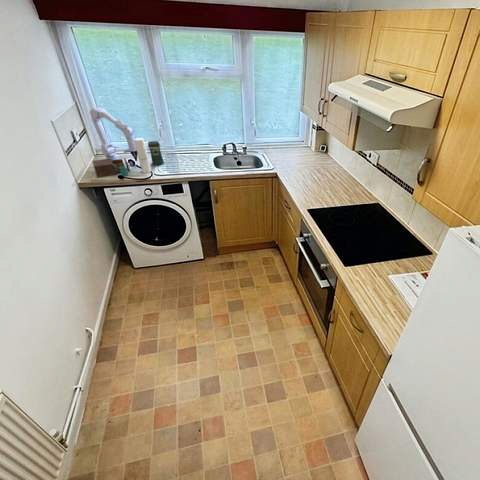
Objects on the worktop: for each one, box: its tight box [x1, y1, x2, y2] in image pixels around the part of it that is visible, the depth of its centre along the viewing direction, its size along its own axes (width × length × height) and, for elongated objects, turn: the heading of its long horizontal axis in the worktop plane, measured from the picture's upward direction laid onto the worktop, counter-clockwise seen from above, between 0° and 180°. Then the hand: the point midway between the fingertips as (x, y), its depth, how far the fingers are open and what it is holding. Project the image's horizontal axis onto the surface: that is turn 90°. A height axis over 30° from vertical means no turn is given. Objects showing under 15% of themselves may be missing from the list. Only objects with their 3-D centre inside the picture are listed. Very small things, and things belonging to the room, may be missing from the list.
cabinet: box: [92, 158, 117, 178], centre depth 237 cm, size 14×15×9 cm
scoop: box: [112, 164, 128, 177], centre depth 234 cm, size 9×5×10 cm, turn 119°
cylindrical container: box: [134, 137, 152, 174], centre depth 237 cm, size 7×7×25 cm
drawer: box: [112, 157, 134, 174], centre depth 242 cm, size 17×13×7 cm
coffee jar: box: [147, 140, 165, 166], centre depth 254 cm, size 10×8×19 cm
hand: (136, 160), depth 245 cm, fingers closed
